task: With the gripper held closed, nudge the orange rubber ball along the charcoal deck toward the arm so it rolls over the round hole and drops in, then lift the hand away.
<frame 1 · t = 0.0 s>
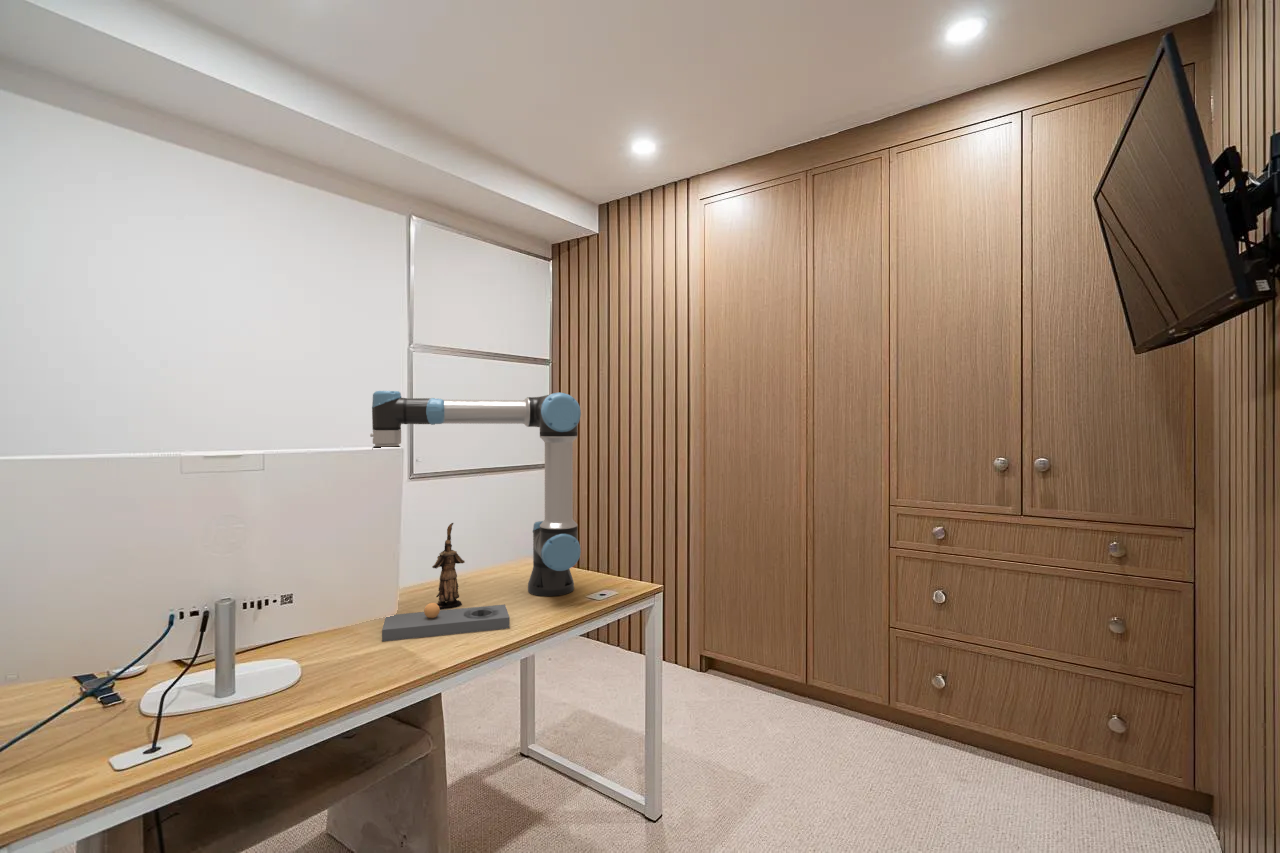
hand: (387, 519, 174), 28 cm above the table, tool pointing down, fingers open, 13 cm apart
deck: (447, 627, 167), on the table
figurine: (446, 607, 185), on the table
ball: (432, 610, 166), point 5 cm above the table, touching deck
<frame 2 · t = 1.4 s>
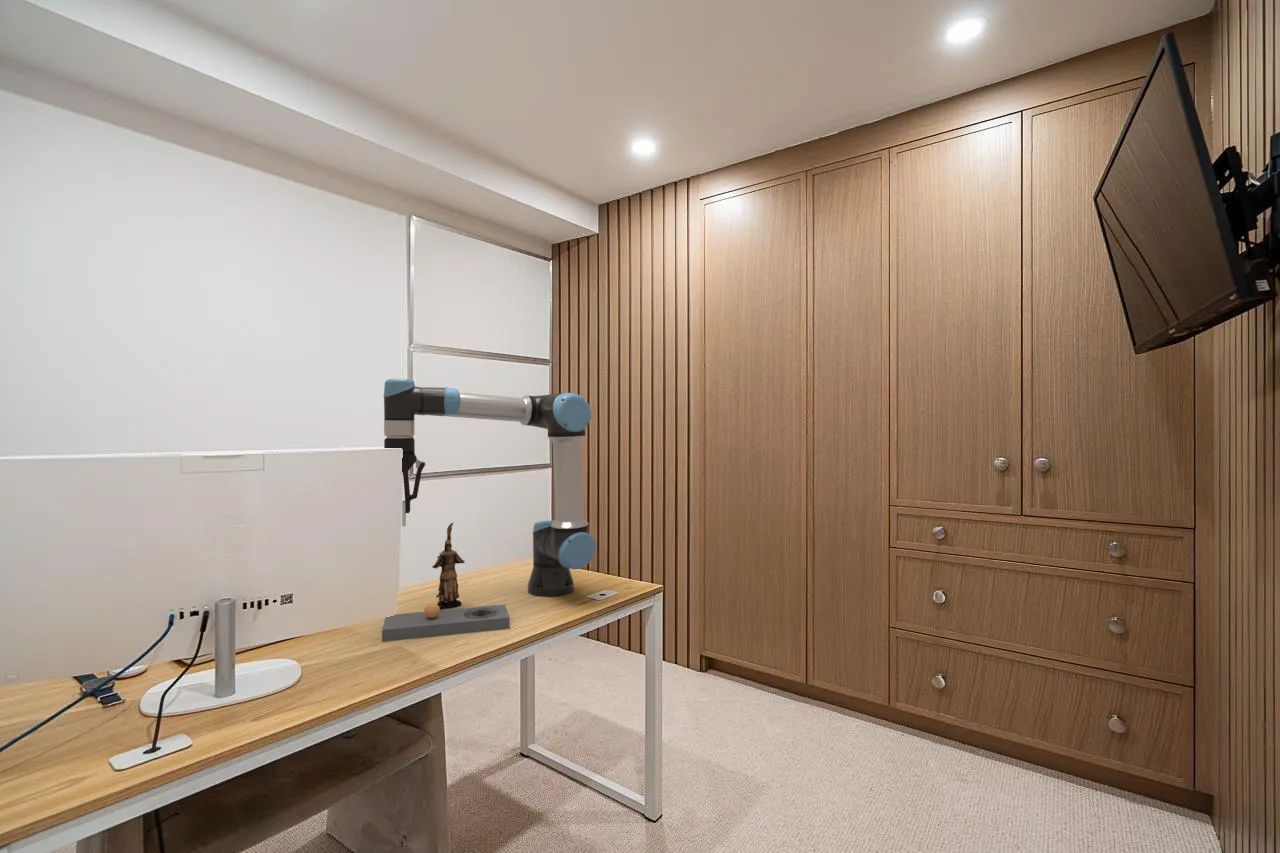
hand: (399, 525, 163), 28 cm above the table, tool pointing down, fingers closed
nothing on the table moved.
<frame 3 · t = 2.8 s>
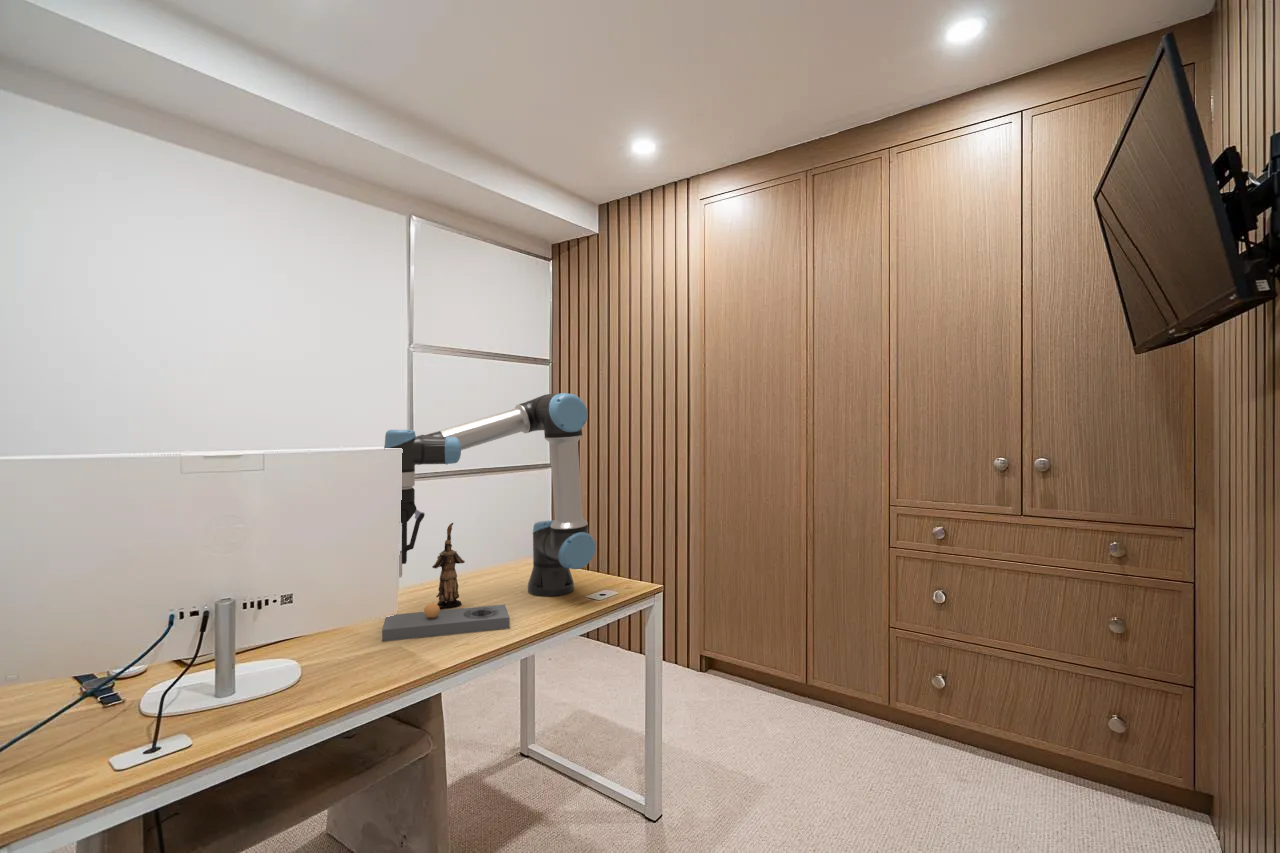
hand: (398, 576, 163), 15 cm above the table, tool pointing down, fingers closed
nothing on the table moved.
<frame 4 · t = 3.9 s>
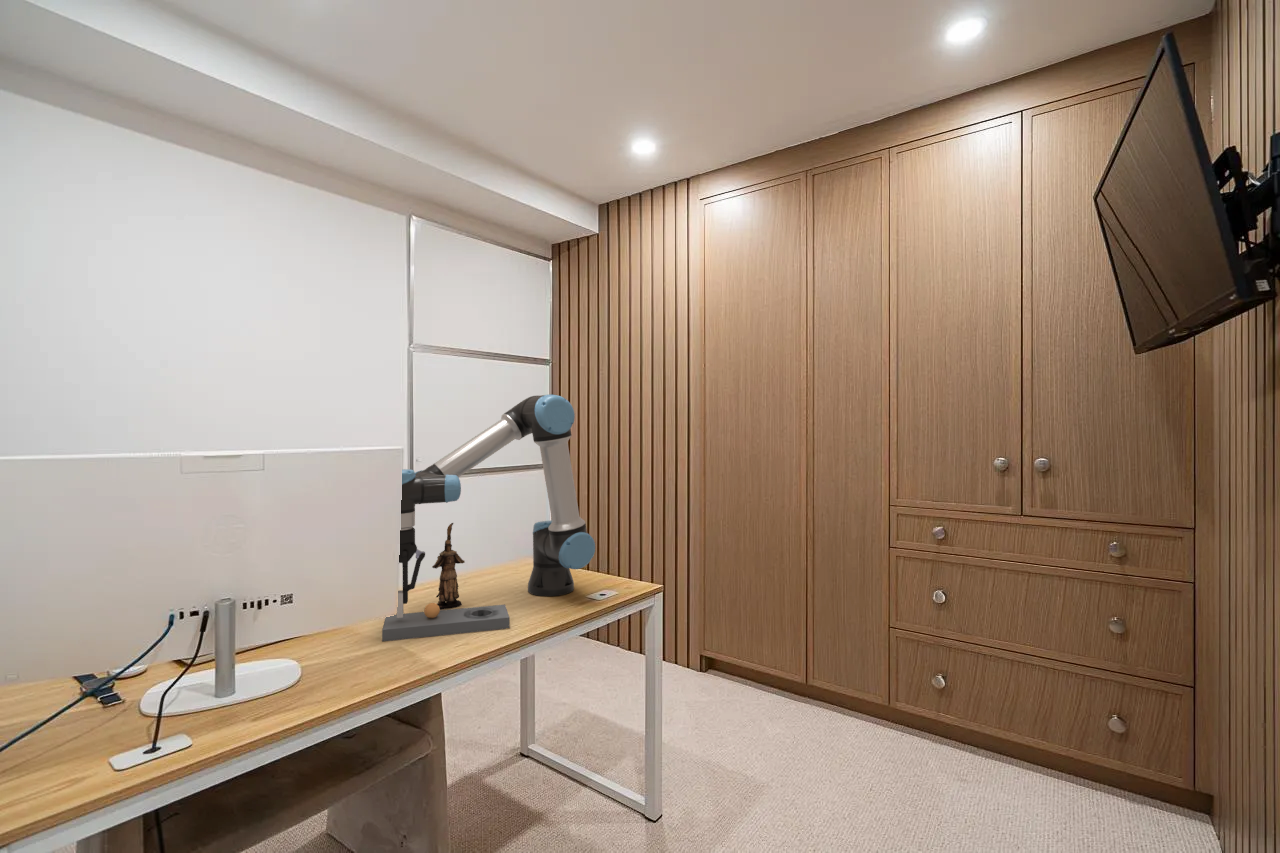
hand: (400, 615, 163), 4 cm above the table, tool pointing down, fingers closed
nothing on the table moved.
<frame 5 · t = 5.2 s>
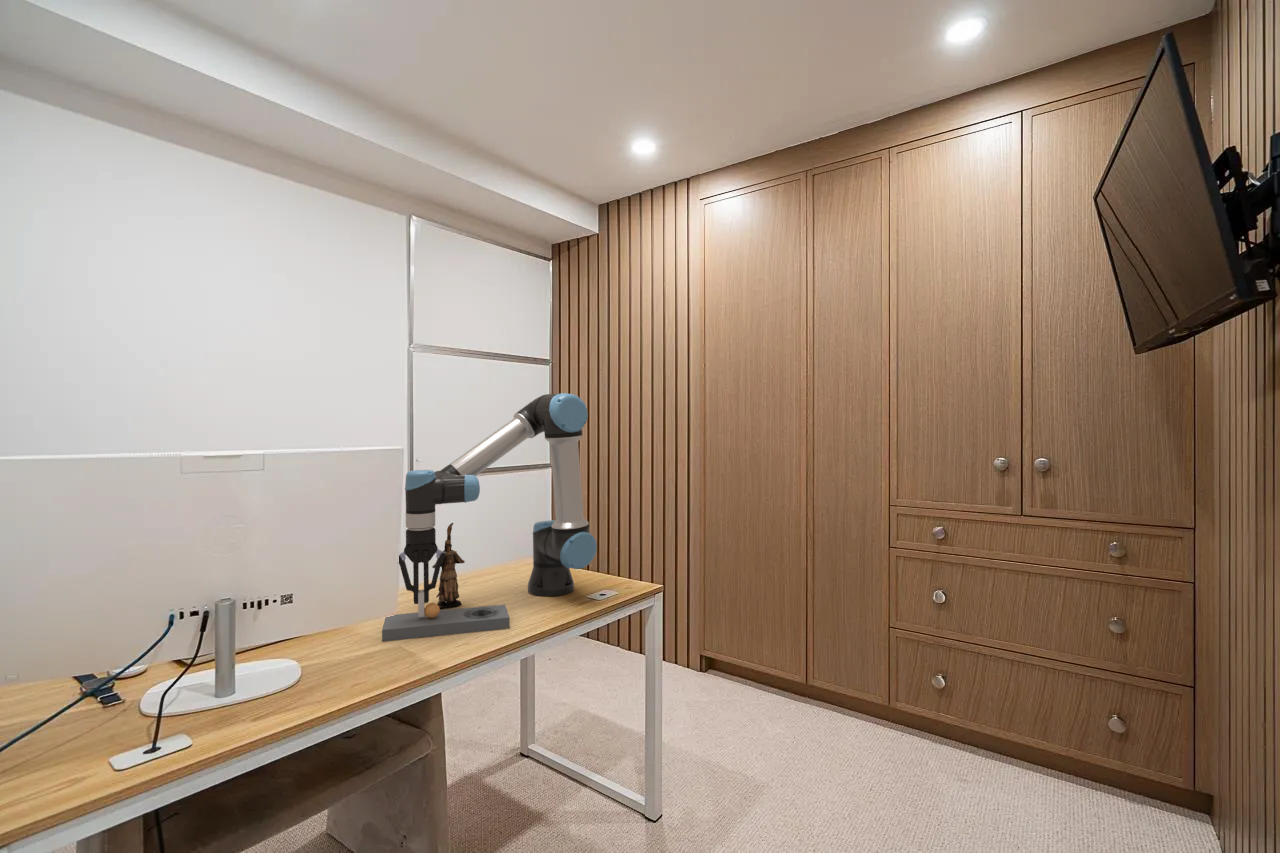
hand: (421, 615, 165), 4 cm above the table, tool pointing down, fingers closed
ball: (432, 610, 166), point 5 cm above the table, touching deck, gripper
everything else where it was.
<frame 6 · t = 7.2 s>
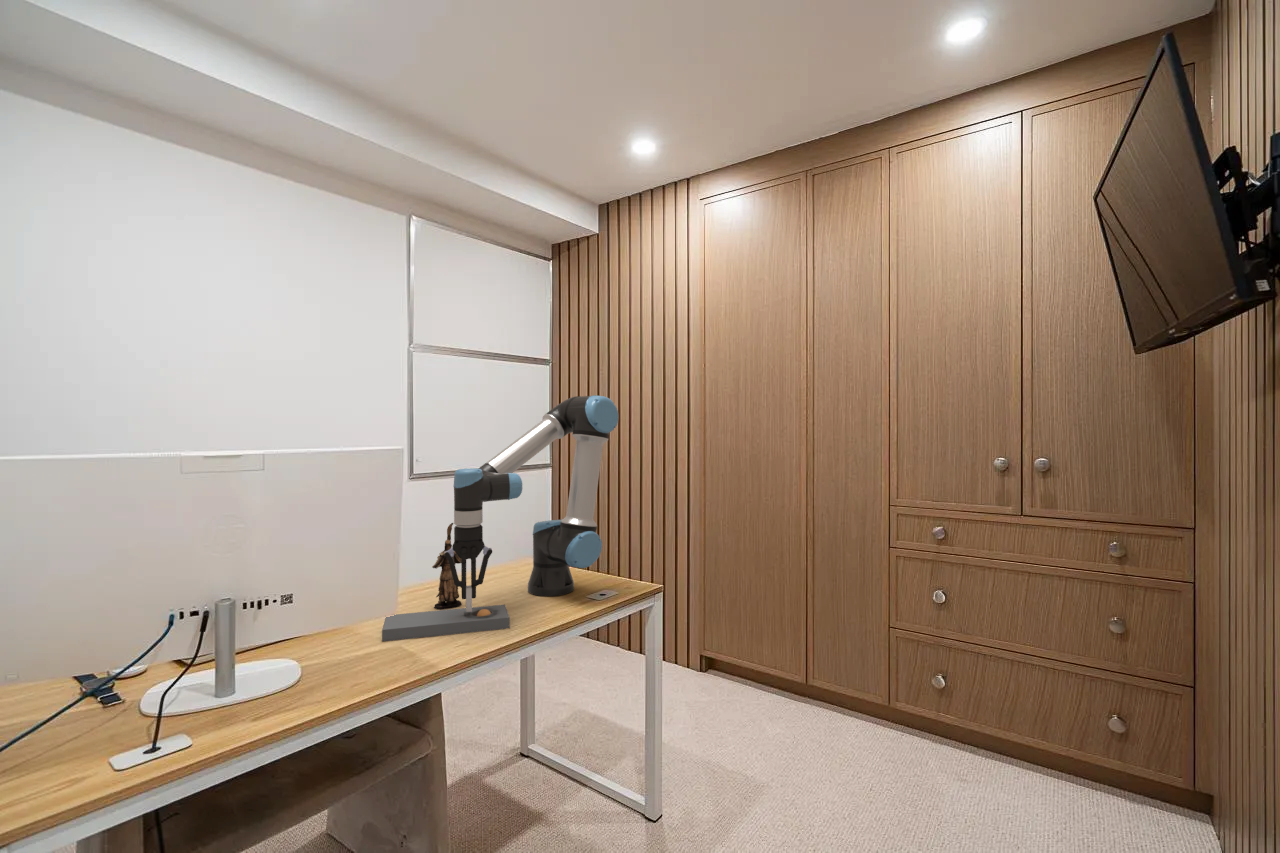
hand: (468, 610, 169), 4 cm above the table, tool pointing down, fingers closed
ball: (484, 616, 170), point 2 cm above the table, tilted 34°
everything else where it was.
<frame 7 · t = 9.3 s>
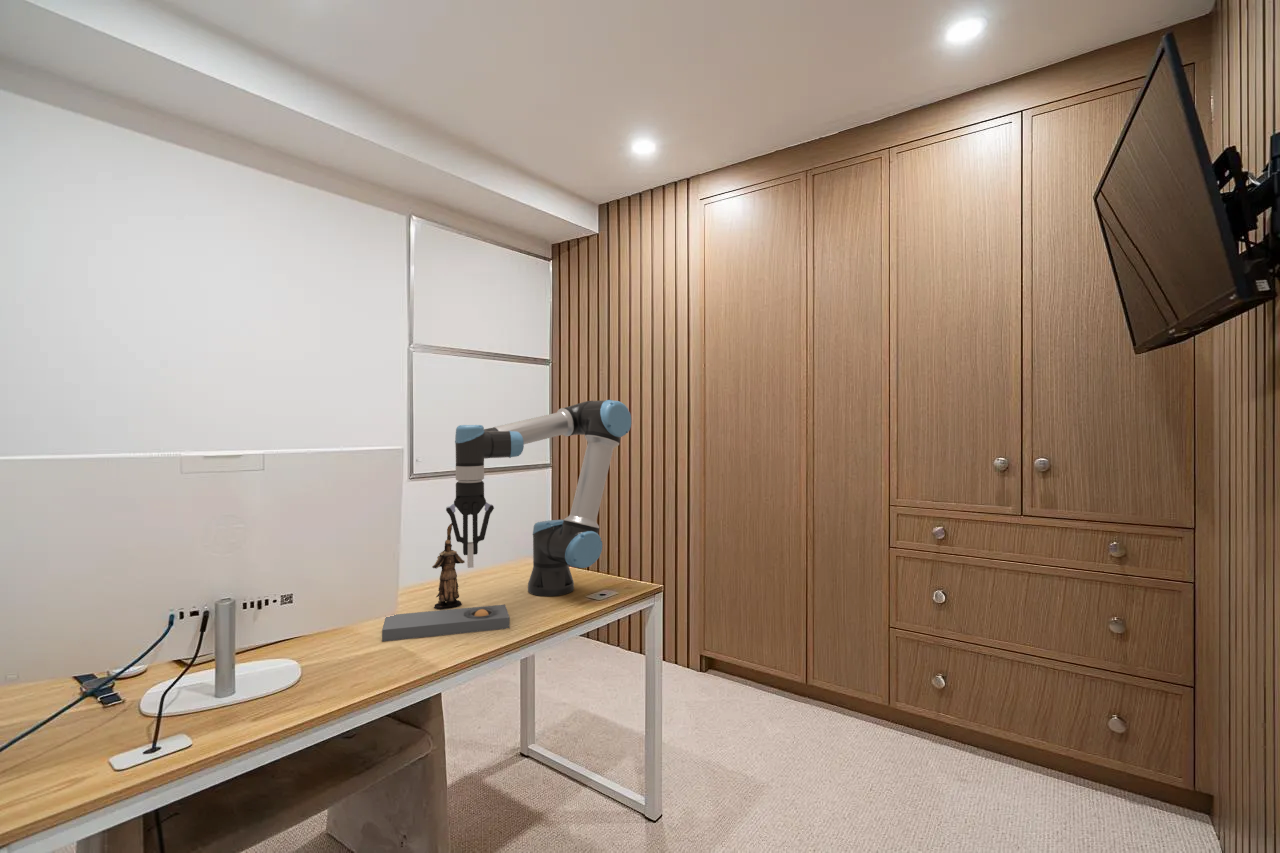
hand: (470, 566, 169), 16 cm above the table, tool pointing down, fingers closed
ball: (481, 616, 170), point 2 cm above the table, tilted 15°
everything else where it was.
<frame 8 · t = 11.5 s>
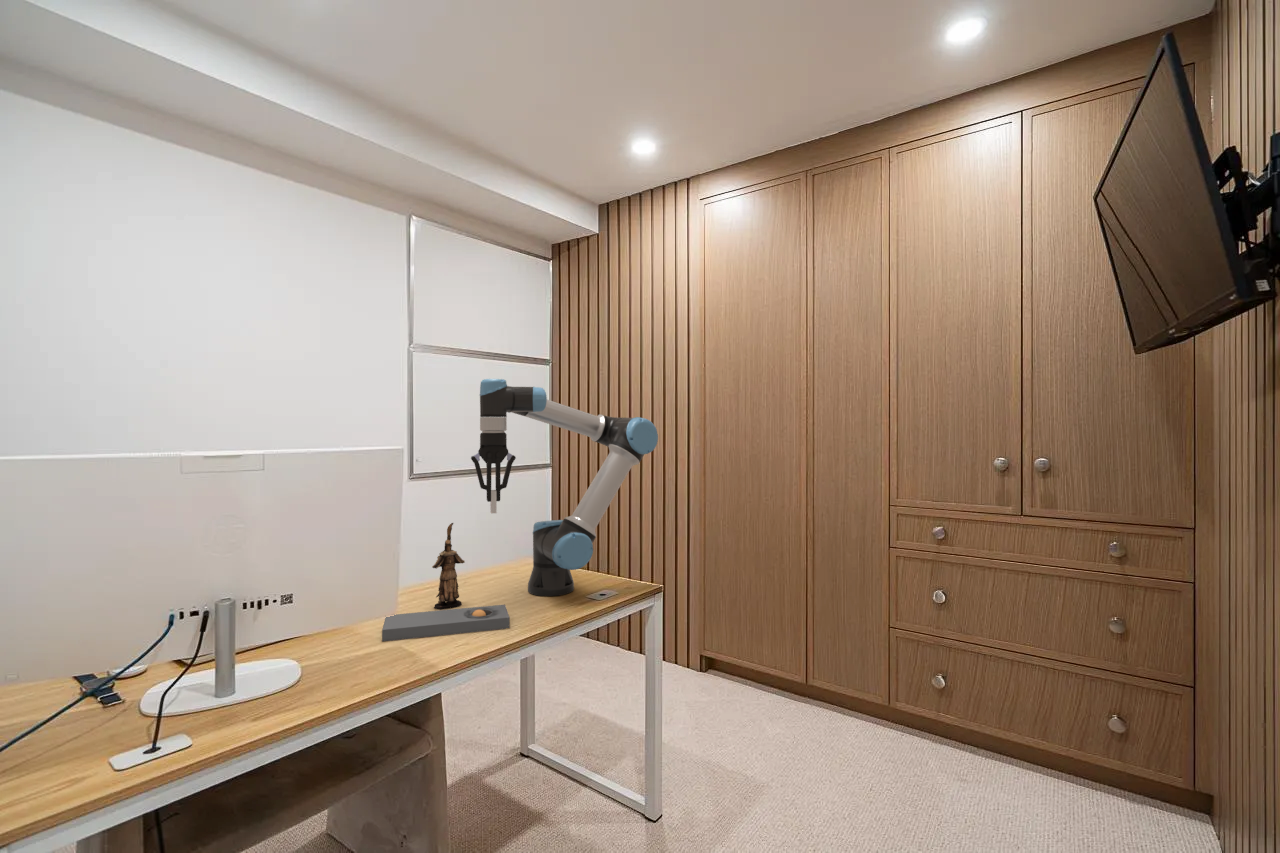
hand: (493, 512, 179), 29 cm above the table, tool pointing down, fingers closed
ball: (478, 617, 169), point 2 cm above the table, tilted 6°
everything else where it was.
at the end: ball 0.8 cm from the target spot on the deck, point 2.0 cm above the deck's base; ball moved 12.6 cm from its start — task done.
